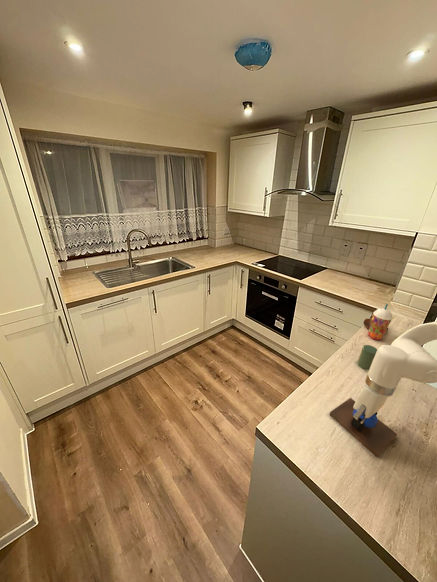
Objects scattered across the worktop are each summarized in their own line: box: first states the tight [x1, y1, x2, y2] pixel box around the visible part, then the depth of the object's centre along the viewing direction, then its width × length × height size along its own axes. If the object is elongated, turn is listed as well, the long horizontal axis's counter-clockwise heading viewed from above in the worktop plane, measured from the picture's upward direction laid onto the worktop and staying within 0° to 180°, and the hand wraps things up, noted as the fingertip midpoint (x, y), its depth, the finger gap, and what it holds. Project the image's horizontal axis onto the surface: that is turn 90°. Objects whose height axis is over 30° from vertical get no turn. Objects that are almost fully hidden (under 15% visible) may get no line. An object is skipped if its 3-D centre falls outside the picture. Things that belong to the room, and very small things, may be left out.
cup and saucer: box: [363, 315, 389, 332], centre depth 132 cm, size 12×12×6 cm
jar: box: [356, 344, 378, 371], centre depth 103 cm, size 6×6×9 cm
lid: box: [353, 409, 379, 428], centre depth 77 cm, size 7×7×2 cm
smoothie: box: [367, 303, 394, 341], centre depth 121 cm, size 8×8×20 cm
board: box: [329, 397, 398, 458], centre depth 78 cm, size 16×12×2 cm
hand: (362, 422), depth 78 cm, fingers closed on lid, 6 cm apart
